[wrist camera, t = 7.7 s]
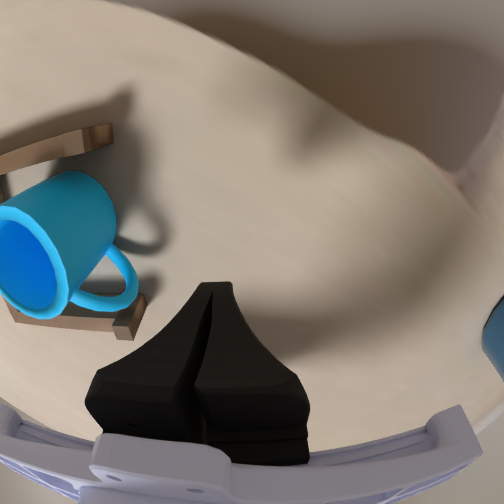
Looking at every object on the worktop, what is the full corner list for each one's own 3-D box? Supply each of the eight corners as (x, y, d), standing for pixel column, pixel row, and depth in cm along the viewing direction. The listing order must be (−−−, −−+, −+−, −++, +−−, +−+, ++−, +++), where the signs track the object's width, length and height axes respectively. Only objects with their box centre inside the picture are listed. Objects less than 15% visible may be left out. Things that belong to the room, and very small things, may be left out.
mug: (31, 229, 21) (-23, 274, 14) (57, 152, 18) (-12, 180, 11) (131, 299, 25) (100, 366, 17) (174, 232, 22) (144, 295, 15)
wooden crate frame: (146, 307, 25) (133, 340, 21) (30, 302, 25) (11, 327, 21) (111, 123, 18) (81, 128, 14) (-13, 161, 17) (-43, 174, 14)
